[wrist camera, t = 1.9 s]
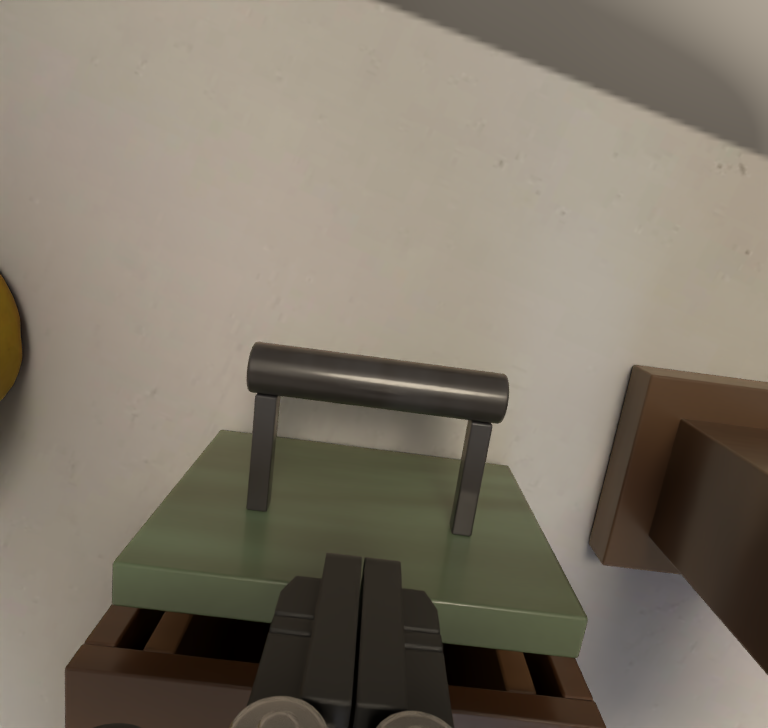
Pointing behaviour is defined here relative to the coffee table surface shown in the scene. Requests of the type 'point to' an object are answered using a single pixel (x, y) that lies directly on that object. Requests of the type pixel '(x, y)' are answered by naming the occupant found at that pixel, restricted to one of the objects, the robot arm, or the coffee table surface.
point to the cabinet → (235, 680)
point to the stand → (693, 492)
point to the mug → (9, 339)
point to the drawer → (354, 523)
